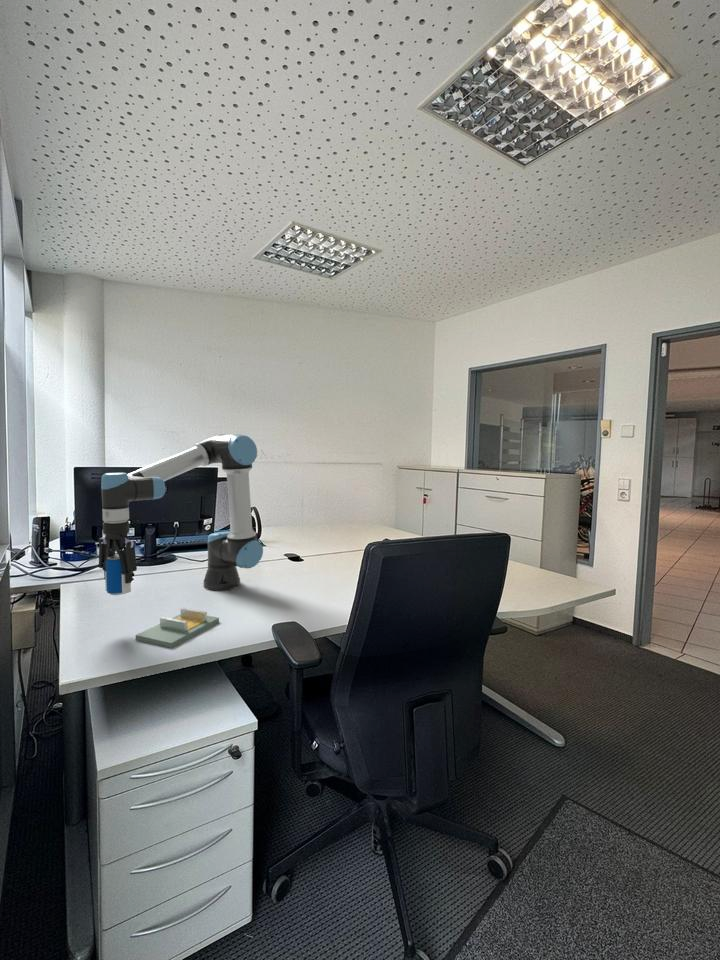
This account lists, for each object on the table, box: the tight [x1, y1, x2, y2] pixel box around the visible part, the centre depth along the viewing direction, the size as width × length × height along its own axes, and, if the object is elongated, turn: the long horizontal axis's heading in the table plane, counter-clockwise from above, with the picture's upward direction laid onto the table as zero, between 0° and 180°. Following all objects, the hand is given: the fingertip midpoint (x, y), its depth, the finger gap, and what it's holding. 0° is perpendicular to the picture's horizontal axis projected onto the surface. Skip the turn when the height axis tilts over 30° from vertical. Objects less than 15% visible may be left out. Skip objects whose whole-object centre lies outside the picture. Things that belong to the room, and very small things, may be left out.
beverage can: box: [106, 553, 128, 596], centre depth 148 cm, size 6×6×12 cm
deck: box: [135, 613, 220, 649], centre depth 149 cm, size 14×22×2 cm, turn 159°
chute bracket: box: [159, 607, 208, 632], centre depth 150 cm, size 10×10×3 cm
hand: (118, 591), depth 148 cm, fingers closed on beverage can, 6 cm apart
